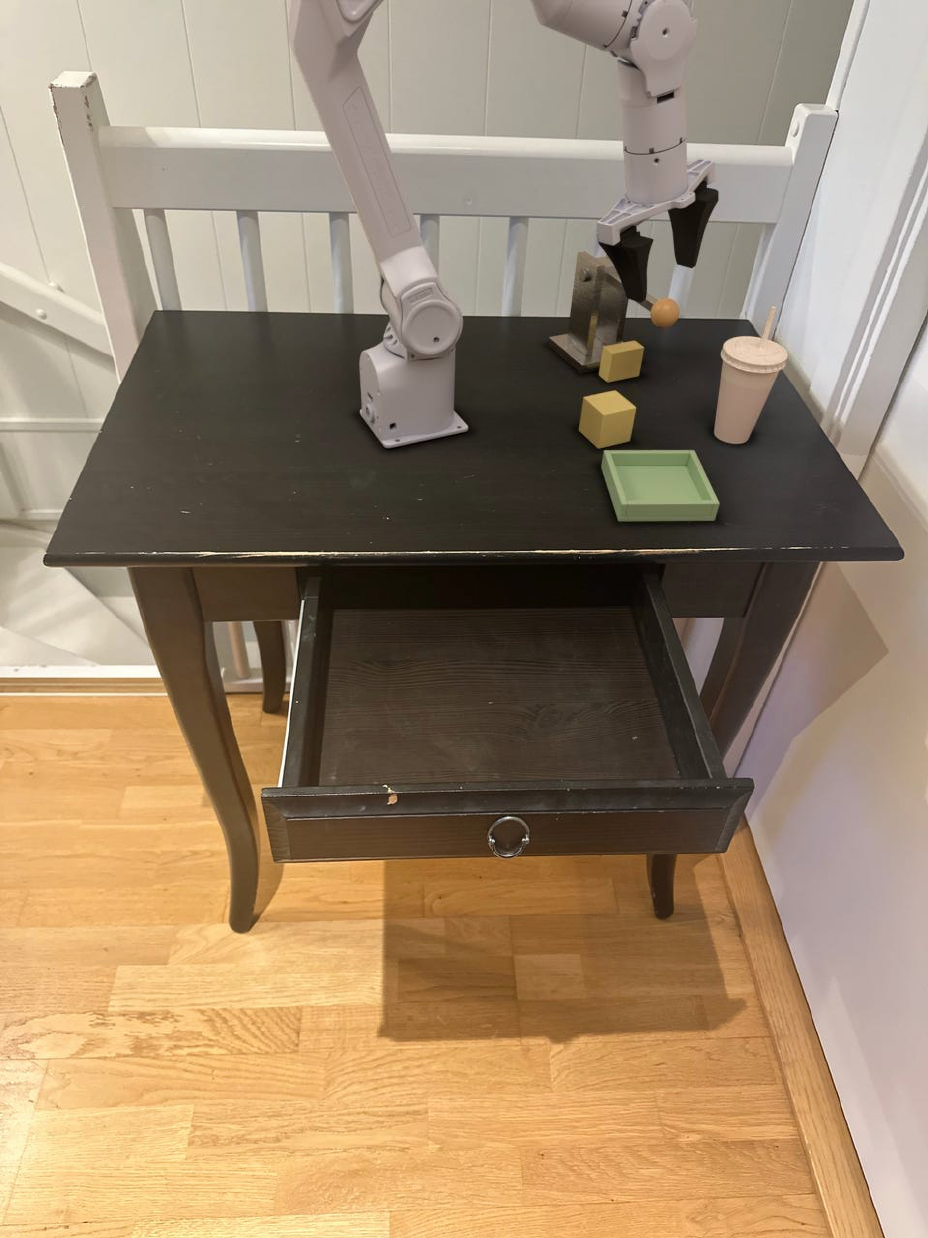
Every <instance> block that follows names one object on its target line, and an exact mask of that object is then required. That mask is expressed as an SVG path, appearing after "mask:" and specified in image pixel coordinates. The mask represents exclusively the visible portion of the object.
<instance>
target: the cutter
mask: <svg viewBox="0 0 928 1238" xmlns="http://www.w3.org/2000/svg"><path fill="white" fill-rule="evenodd" d="M576 256H577V257H576V262H575V263H576V264H575V273H574V281H573V289H572V296H571V303H570V304H571V305H570V313H569V320H568V321H569V322H568V328H567V333H564V334H559V335H553V336H549V337H548V343H547V344H548V345H547V346H548V347H549V348H550V349H551V350H552V351H554V353H556V354H557V355H558V356H559V357H561V358H562V359H563V360H564V361H565V362H566V363H567V364H569V365H570V366H571V367H573V368H574V370H576V371H577V372H578V373H579V374H582V375H583V374H588V373H592V372H597V371H598V372H599V370H600V364H601V357H602V351H603V347H604V346H609V345H614V344H619V343H625V342H624V341H623V336H624V329H625V324H626V319H627V318H626V317H627V312H628V306H629V300H630V299H627V297H626V295H625V294H624V293H622V292H621V291H619V290H618V289H616V288H615V287H613V286H612V287H606V288H602V285H603V278H604V271H605V264H603V263H602V262H600V261H599V260H597V259H596V258H597V257H594V256H593V255H591V254H590V253H588V252H586V251H578V252H577V255H576ZM606 256H607V257H608V255H607V254H606ZM606 256H605V257H606Z"/></svg>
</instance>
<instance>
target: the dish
mask: <svg viewBox="0 0 928 1238" xmlns="http://www.w3.org/2000/svg"><path fill="white" fill-rule="evenodd" d="M602 453H603V454H602V460H601V464H600V468H601V471H602V474H603V477H604V481H605V484H606V487H607V490H608V493H609V496H610V499H611V502H612V506H613V509H614V512H615V516H616V518H617V521H618V522H714V521H715V520H716V517H717V514H718V512H719V511H718V510H719V508H720V504H721V503H720V501H719V499H718V497H717V495H716V492H715V490H714V488H713V487H712V484H711V482H710V480H709V478H708V476H707V473H706V472H705V470H704V468H703V465H702V463H701V462H700V459H699V457H698V455H697V453H696V451H695V449H611V450H609V449H605V450H603V452H602Z"/></svg>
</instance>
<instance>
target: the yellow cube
mask: <svg viewBox="0 0 928 1238" xmlns="http://www.w3.org/2000/svg"><path fill="white" fill-rule="evenodd" d="M636 412H637V407H636V406H635V405H634V404H633V403H632V402H631V401H629V400H628V399H627V398H626V397H624V396H623V395H622V394H621V393H620V392H618V391H617V390H610V391H605V392H601V393H596V394H591V395H586V396H583V398H582V404H581V411H580V418H579V426H578V432H579V433H581V435H583V436H584V437H585V438H586V439H587V440H588V441H589V442H590V444H592V445H593V446H594V447H595V448H596V449H597V450H598V449H604V448H607V447H613V446H616V445H620V444H624V443H628V442H631V437H632V432H633V427H634V422H635V416H636Z"/></svg>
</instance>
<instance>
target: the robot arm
mask: <svg viewBox="0 0 928 1238" xmlns="http://www.w3.org/2000/svg"><path fill="white" fill-rule="evenodd" d="M384 1H385V0H290V10H289V19H288V21H289V22H288V30H287V31H288V33H287V34H288V41H289V46H290V49H291V52H292V54H293V57H294V59H295V61H296V63H297V67H298V69H299V71H300V74H301V77H302V79H303V82H304V85H305V86H306V90H307V91H308V94H309V97H310V99H311V101H312V104H313V106H314V109H315V112H316V114H317V117H318V119H319V121H320V124H321V127H322V129H323V132H324V134H325V137H326V139H327V141H328V144H329V147H330V149H331V152H332V154H333V156H334V159H335V161H336V163H337V167H338V170H339V171H340V174H341V176H342V179H343V182H344V184H345V186H346V189H347V191H348V194H349V196H350V199H351V202H352V204H353V206H354V207H353V208H354V209H355V212H356V214H357V217H358V219H359V222H360V223H361V226H362V229H363V232H364V234H365V237H366V239H367V242H368V244H369V247H370V249H371V252H372V255H373V260H374V263H375V267H376V268H377V272H378V274H379V275H378V276H379V285H378V286H379V287H378V297H379V302H380V304H381V306H382V308H383V310H384V311H385V313H387V315H388V317H389V322H388V323H387V325H386V328H385V330H384V334H383V340H382V341H381V342H380V343H378V344H377V345H375V346H374V347H371V348H369V349H365V350H363V351H362V352H361V353H360V355H359V356H360V357H359V366H358V367H359V383H360V400H361V401H360V402H361V408H360V410H359V415H360V416H361V418H362V419H363V420H364V422H365V423H366V424H367V426H368V427H369V429H370V430H371V432H373V434H374V435H375V437H376V438H377V439H378V441H379V442H380V444H381V445H382V446H383V447H384V448H385V449H393V448H397V447H402V446H407V445H411V444H416V443H420V442H425V441H429V440H434V439H438V438H439V439H440V438H443V437H449V436H453V435H457V434H461V433H466V432H468V431H469V425H468V424H467V423H466V422H465V421H464V419H462V418H461V416H459V414H458V412H456V411H455V383H456V381H455V380H456V349H457V347H456V345H457V343H458V341H459V339H460V337H461V335H462V332H463V328H464V317H463V312H462V310H461V307H460V306H459V304H458V303H457V302H456V301H455V299H453V297H451V296H450V294H449V293H448V292H447V290H446V288H445V287H444V285H443V284H442V282H441V281H440V278H439V275H438V273H437V271H436V269H435V266H434V264H433V262H432V260H431V258H430V256H429V253H428V251H427V248H426V247H425V244H424V241H423V239H422V235H421V233H420V230H419V227H418V225H417V224H418V223H417V222H416V219H415V216H414V213H413V210H412V206H411V205H410V201H409V199H408V195H407V193H406V190H405V187H404V185H403V182H402V179H401V175H400V172H399V170H398V167H397V164H396V162H395V159H394V156H393V153H392V150H391V147H390V144H389V142H388V138H387V136H386V133H385V130H384V127H383V124H382V122H381V119H380V115H379V113H378V110H377V107H376V104H375V102H374V99H373V95H372V93H371V91H370V88H369V85H368V82H367V79H366V76H365V73H364V70H363V67H362V65H361V64H362V63H361V62H360V59H359V55H358V53H359V51H358V50H359V48H360V47H361V43H362V41H363V39H364V36H365V34H366V31H367V29H368V27H369V24H370V22H371V20H372V18H373V16H374V12H375V11H376V10H377V9H378V7H380V6H381V4H382V3H383V2H384ZM530 3H531V5H532V8H533V12H534V15H535V17H536V20H537V22H538V23H539V24H540V25H541V26H543V27H545V28H548V29H550V30H553V31H555V32H557V33H559V34H561V35H564V36H567V37H569V38H571V39H573V40H576V41H578V42H581V43H583V44H586V45H587V46H590V47H592V48H595V49H597V50H600V51H602V52H608V53H609V54H610V55H611V56H612V57H613V58H620V59H617V61H616V67H617V79H618V80H617V81H618V98H619V111H620V123H621V137H622V153H623V164H624V166H623V167H624V177H625V179H624V180H625V190H626V191H625V193H624V194H623V196H621V197H620V199H619V200H618V201H617V202H616V203H615V205H613V207H612V208H610V210H609V211H608V212H607V213H606V215H604V216H603V217H602V218H601V219H599V220H597V221H596V231H597V234H596V235H597V244H598V245H599V247H600V248H601V249H602V250H603V252H605V254H606V255H608V257H609V258H610V260H611V262H612V263H613V265H614V267H615V269H616V271H617V273H618V275H619V278H620V280H621V283H622V285H623V288H624V291H625V294H626V297H627V299H629V300H630V301H632V302H635V301H636V302H635V303H637V302H640V303H641V302H643V301H644V300H646V295H647V293H648V264H649V259H650V258H649V257H650V253H651V249H652V247H653V243H654V239H653V238H652V237H647V236H643V235H641V231H640V230H638V226H640V225H642V224H643V223H644V222H646V221H648V220H649V219H650V218H652V217H655V216H657V215H659V214H662V213H665V212H667V214H668V218H669V220H670V226H671V232H672V243H673V253H674V258H675V263H676V265H678V266H682V267H686V268H689V269H693V268H695V267H696V266H697V263H698V258H699V254H700V250H701V246H702V242H703V239H704V234H705V231H706V228H707V225H708V223H709V220H710V218H711V216H712V214H713V211H714V210H715V207H716V206H717V204H718V202H719V200H720V198H719V197H720V196H719V195H720V193H719V190H718V189H716V188H711V187H708V186H709V185H711V184H712V183H714V182H716V161H715V160H713V159H712V160H711V159H706V158H697V159H696V160H693V161H692V162H690V163H688V146H687V143H688V141H687V139H688V138H687V105H686V104H687V103H686V101H687V100H686V99H687V98H686V62H687V58H688V56H689V53H690V51H692V48H693V45H694V43H695V41H696V37H697V32H698V23H699V21H698V19H697V18H695V17H693V11H692V7H691V4H688V0H530ZM621 59H622V60H621Z"/></svg>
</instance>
